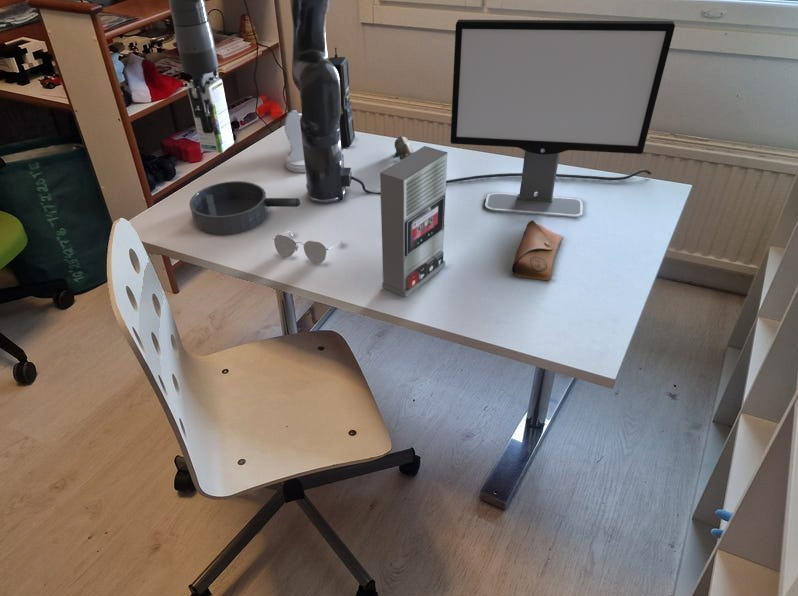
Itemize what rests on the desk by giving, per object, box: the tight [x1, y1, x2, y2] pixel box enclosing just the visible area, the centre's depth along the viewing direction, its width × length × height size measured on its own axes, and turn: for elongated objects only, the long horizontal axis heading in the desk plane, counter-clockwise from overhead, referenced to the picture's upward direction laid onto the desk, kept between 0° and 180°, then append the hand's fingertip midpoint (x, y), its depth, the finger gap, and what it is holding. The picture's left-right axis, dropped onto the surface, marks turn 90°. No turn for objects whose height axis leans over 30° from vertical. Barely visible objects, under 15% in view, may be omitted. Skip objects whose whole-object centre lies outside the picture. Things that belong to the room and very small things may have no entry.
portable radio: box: [328, 47, 356, 148], centre depth 176 cm, size 8×6×25 cm
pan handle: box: [264, 197, 302, 208], centre depth 151 cm, size 9×2×2 cm, turn 83°
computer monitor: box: [449, 19, 676, 218], centre depth 137 cm, size 41×8×40 cm, turn 74°
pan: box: [189, 180, 269, 236], centre depth 154 cm, size 18×18×5 cm
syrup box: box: [186, 78, 235, 154], centre depth 140 cm, size 6×6×14 cm
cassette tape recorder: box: [379, 145, 448, 298], centre depth 123 cm, size 14×6×25 cm, turn 139°
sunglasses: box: [272, 231, 344, 265], centre depth 140 cm, size 14×8×5 cm, turn 65°
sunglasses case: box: [511, 219, 564, 281], centre depth 134 cm, size 18×7×7 cm, turn 159°
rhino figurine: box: [394, 135, 414, 160], centre depth 170 cm, size 4×14×6 cm, turn 10°
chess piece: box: [284, 109, 306, 173], centre depth 170 cm, size 10×10×15 cm
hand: (213, 125), depth 141 cm, fingers closed on syrup box, 6 cm apart
